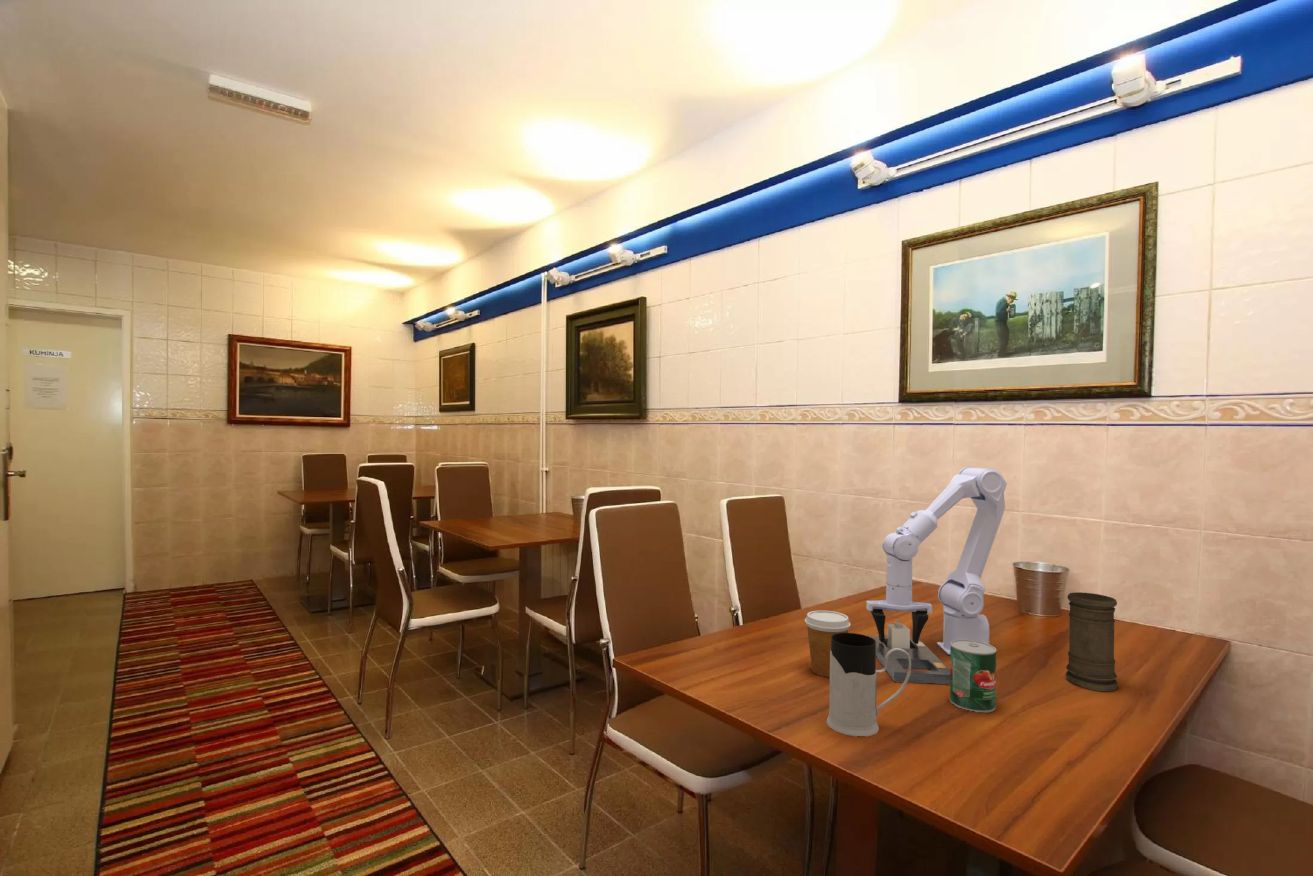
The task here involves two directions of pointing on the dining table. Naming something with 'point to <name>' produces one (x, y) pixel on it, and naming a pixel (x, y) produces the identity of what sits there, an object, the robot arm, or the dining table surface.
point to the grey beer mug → (856, 684)
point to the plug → (898, 636)
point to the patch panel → (913, 663)
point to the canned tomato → (973, 675)
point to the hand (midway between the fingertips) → (898, 641)
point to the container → (1091, 641)
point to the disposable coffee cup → (823, 637)
